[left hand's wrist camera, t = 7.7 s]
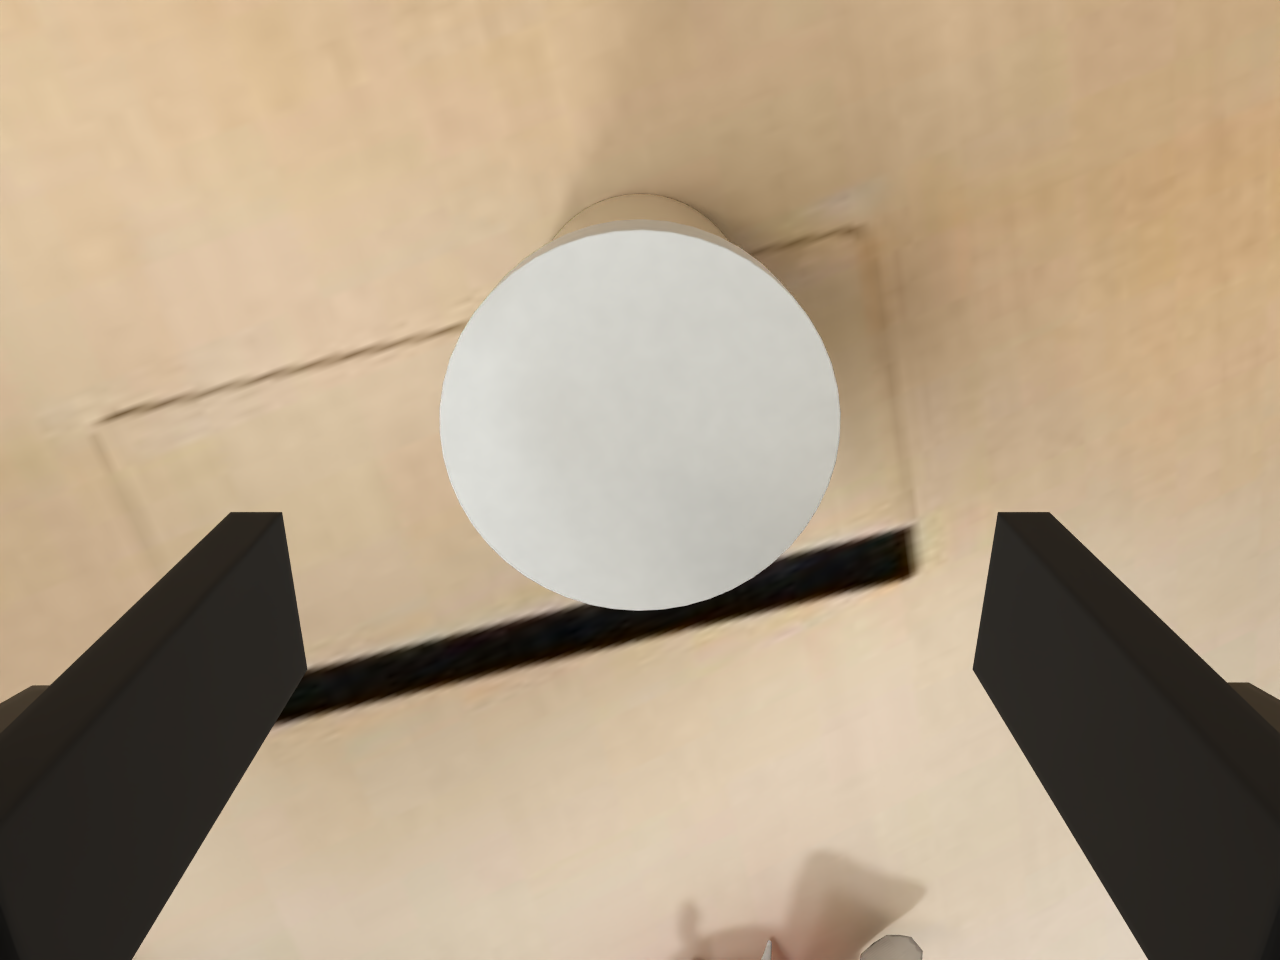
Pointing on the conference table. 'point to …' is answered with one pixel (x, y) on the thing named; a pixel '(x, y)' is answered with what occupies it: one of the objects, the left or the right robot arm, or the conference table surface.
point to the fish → (881, 949)
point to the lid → (640, 416)
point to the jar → (640, 213)
